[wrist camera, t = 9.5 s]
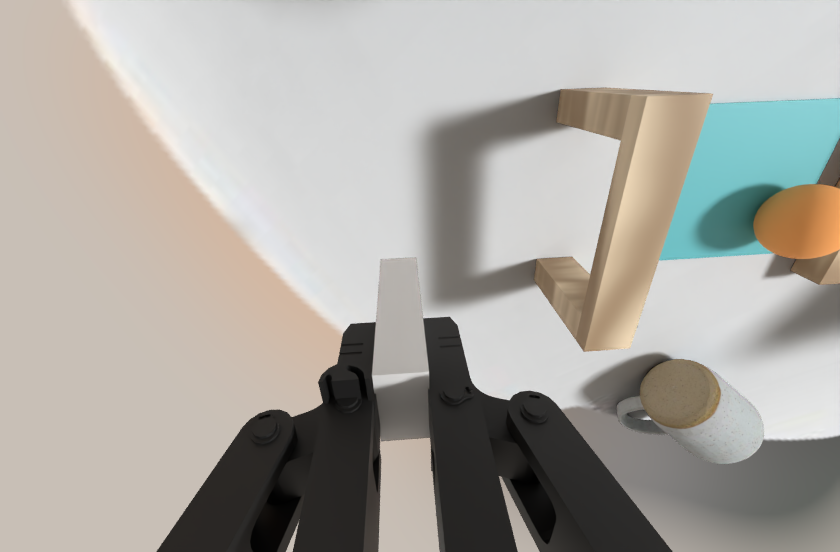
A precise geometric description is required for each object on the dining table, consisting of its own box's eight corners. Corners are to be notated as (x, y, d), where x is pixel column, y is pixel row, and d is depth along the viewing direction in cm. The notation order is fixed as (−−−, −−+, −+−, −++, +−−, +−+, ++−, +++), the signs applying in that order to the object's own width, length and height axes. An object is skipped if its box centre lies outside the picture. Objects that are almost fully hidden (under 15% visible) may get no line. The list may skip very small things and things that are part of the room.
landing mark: (692, 104, 25) (694, 104, 25) (856, 97, 25) (860, 97, 25) (645, 260, 31) (646, 261, 30) (779, 251, 31) (781, 252, 31)
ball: (764, 174, 29) (776, 189, 25) (863, 180, 26) (896, 198, 22) (738, 238, 31) (746, 261, 27) (826, 250, 29) (850, 278, 25)
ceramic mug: (680, 339, 36) (746, 402, 29) (721, 375, 38) (789, 439, 32) (594, 400, 39) (635, 468, 33) (637, 428, 42) (682, 496, 36)
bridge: (533, 279, 31) (584, 351, 23) (560, 89, 24) (647, 96, 16) (568, 277, 31) (629, 348, 23) (605, 87, 24) (713, 93, 16)
